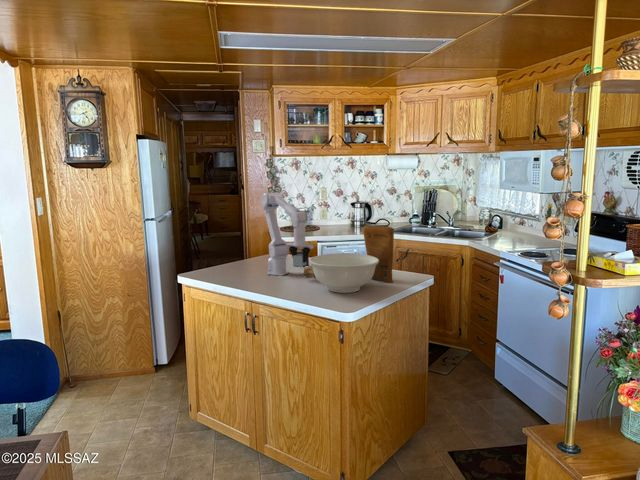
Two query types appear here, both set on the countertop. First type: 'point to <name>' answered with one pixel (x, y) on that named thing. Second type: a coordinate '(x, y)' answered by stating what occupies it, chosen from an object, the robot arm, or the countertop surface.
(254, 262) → the countertop surface
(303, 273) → the walnut slab
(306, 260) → the flask
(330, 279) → the bowl
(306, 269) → the oak slab
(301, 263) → the slate block
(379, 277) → the pancake mix bag
